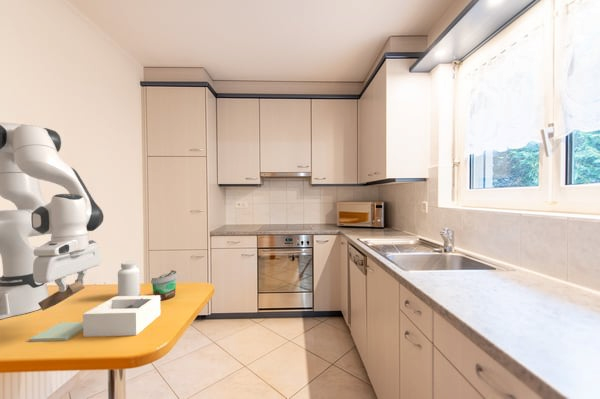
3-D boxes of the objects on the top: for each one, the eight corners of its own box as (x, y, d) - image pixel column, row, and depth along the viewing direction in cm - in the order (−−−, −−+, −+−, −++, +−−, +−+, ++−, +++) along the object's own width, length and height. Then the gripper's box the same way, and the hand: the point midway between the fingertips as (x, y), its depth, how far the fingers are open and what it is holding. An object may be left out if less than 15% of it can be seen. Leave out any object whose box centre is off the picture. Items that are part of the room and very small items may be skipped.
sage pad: (29, 341, 76) (29, 338, 76) (60, 324, 86) (60, 322, 86) (66, 340, 76) (66, 337, 76) (93, 323, 86) (93, 321, 86)
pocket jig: (83, 336, 78) (82, 313, 78) (115, 315, 92) (115, 296, 92) (136, 335, 78) (135, 312, 78) (160, 314, 92) (160, 295, 92)
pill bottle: (123, 301, 104) (122, 265, 104) (114, 298, 109) (113, 263, 109) (143, 295, 111) (143, 261, 111) (134, 292, 115) (133, 259, 115)
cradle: (103, 327, 82) (100, 321, 82) (115, 319, 88) (112, 314, 88) (136, 309, 83) (133, 304, 83) (146, 302, 88) (143, 297, 88)
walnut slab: (42, 310, 79) (38, 303, 79) (55, 304, 83) (51, 297, 83) (73, 292, 79) (68, 285, 79) (84, 287, 83) (80, 280, 83)
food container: (164, 303, 102) (163, 279, 102) (151, 302, 103) (150, 278, 103) (184, 292, 114) (183, 270, 114) (172, 291, 115) (171, 269, 115)
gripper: (87, 239, 91) (88, 277, 91) (27, 251, 71) (28, 300, 71) (105, 239, 91) (106, 277, 91) (49, 250, 71) (51, 300, 71)
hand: (72, 287), depth 81 cm, fingers closed on walnut slab, 4 cm apart
